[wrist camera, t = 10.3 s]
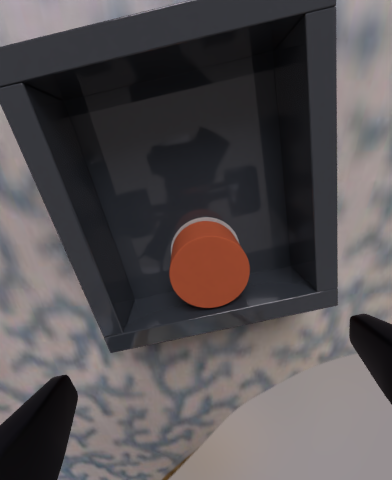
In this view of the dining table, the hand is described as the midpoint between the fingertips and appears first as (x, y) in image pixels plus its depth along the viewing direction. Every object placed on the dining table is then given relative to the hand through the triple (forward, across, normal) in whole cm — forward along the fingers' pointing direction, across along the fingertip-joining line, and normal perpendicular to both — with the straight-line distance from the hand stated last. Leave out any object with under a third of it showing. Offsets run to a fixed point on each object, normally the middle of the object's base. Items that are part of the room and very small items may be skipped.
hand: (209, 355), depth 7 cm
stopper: (+9, -1, 0) cm, 9 cm away
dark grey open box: (+10, -1, -4) cm, 11 cm away
